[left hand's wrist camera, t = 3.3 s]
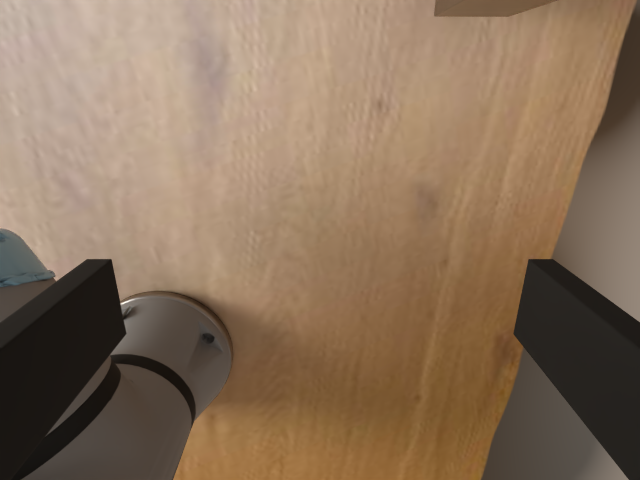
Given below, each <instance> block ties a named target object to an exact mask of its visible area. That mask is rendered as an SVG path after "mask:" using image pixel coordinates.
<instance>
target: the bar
mask: <svg viewBox="0 0 640 480" xmlns="http://www.w3.org/2000/svg"><path fill="white" fill-rule="evenodd" d="M554 1H557V0H436V2H435V13H434V16H448V17H509V16H512V15H515V14H518V13H521V12H524V11H527V10H530V9H533V8H536V7H539V6H542V5H545V4H548V3H551V2H554Z"/></svg>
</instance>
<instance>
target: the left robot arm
mask: <svg viewBox="0 0 640 480" xmlns="http://www.w3.org/2000/svg"><path fill="white" fill-rule="evenodd" d="M53 277H55V274H54V272H53V271H50V270H47V269H46V267H45V266H44V265H43V264H42V263H41V261H40V260H39V259H38V258H37V256H36V255H35V254H34V253H33V252H32V250H31V249H30V248H29V247H28V245H27V244H26V243H25V242H24V240H23V239H22V238H21V237H20V236H18V235H17V234H15V233H13V232H11V231H9V230H6V229H2V228H0V480H173V478H174V475H175V473H176V470H177V467H178V464H179V461H180V459H181V456H182V453H183V450H184V447H185V445H186V442H187V439H188V436H189V433H190V430H191V428H192V425H193V423H194V421H195V420H196V418H197V417H198V416H199V415H200V414H201V413H202V412H203V411H204V410H205V408H206V407H207V406H208V405H209V404H210V403H211V402H212V401H213V399H214V398H215V397H216V396H217V395H218V394H219V392H220V391H221V389H222V388H223V386H224V384H225V383H226V381H227V378H228V376H229V373H230V370H231V366H232V362H233V347H232V342H231V339H230V336H229V334H228V332H227V330H226V328H225V326H224V325H223V323H222V322H221V321H220V320H219V318H218V317H217V316H216V315H215V314H214V313H213V312H212V311H210V310H209V309H208V308H207V307H205V306H204V305H202V304H201V303H199V302H197V301H195V300H193V299H191V298H189V297H186V296H183V295H180V294H176V293H171V292H163V291H152V292H144V293H139V294H135V295H133V296H130V297H128V298H126V299H124V300H122V301H121V302H120V299H119V294H118V289H117V285H116V280H115V275H114V270H113V265H112V260H111V259H87V260H85V261H84V262H83V263H81V264H80V265H78V266H77V267H76V268H74V269H73V270H72V271H70V272H69V273H67V274H66V275H65V276H63V277H62V278H61V279H59V280H58V281H55V279H54V278H53ZM514 335H515V336H516V338H517V339H518V340H519V342H520V343H521V344H522V345H523V347H524V348H525V349H526V350H527V352H528V353H529V354H530V355H531V357H532V358H533V359H534V360H535V362H536V363H537V364H538V365H539V367H540V368H541V369H542V370H543V372H544V373H545V374H546V376H547V377H548V378H549V379H550V381H551V382H552V383H553V384H554V386H555V387H556V388H557V389H558V391H559V392H560V393H561V395H562V396H563V397H564V398H565V400H566V401H567V402H568V403H569V405H570V406H571V407H572V408H573V410H574V411H575V412H576V413H577V415H578V416H579V417H580V418H581V420H582V421H583V422H584V424H585V425H586V426H587V427H588V429H589V430H590V431H591V432H592V434H593V435H594V436H595V437H596V439H597V440H598V441H599V442H600V444H601V445H602V446H603V447H604V449H605V450H606V451H607V453H608V454H609V455H610V456H611V458H612V459H613V460H614V461H615V463H616V464H617V465H618V466H619V468H620V469H621V470H622V471H623V473H624V474H625V475H626V477H627V478H628V479H629V480H640V322H639V321H637V320H636V319H634V318H633V317H632V316H630V315H629V314H628V313H626V312H625V311H623V310H622V309H621V308H619V307H618V306H616V305H615V304H614V303H612V302H611V301H610V300H608V299H607V298H605V297H604V296H603V295H601V294H600V293H599V292H597V291H596V290H595V289H593V288H592V287H590V286H589V285H588V284H586V283H585V282H584V281H582V280H581V279H579V278H578V277H577V276H575V275H574V274H572V273H571V272H570V271H568V270H567V269H566V268H564V267H563V266H561V265H560V264H559V263H557V262H556V261H555V260H553V259H529V260H528V265H527V270H526V275H525V280H524V284H523V289H522V294H521V299H520V304H519V309H518V314H517V319H516V324H515V329H514Z"/></svg>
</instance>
